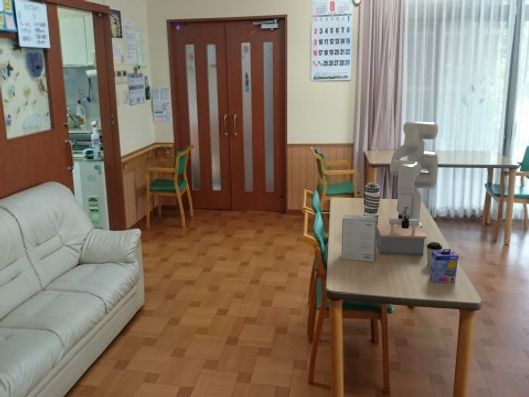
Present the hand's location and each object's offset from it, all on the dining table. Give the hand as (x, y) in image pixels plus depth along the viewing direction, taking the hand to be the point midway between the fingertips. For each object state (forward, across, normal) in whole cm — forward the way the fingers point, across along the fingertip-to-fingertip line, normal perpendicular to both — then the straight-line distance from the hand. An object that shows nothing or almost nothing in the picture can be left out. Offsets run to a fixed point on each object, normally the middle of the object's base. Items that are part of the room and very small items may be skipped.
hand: (403, 225), depth 242 cm
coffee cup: (+15, +13, +12) cm, 23 cm away
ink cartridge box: (+15, +30, +12) cm, 35 cm away
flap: (+5, -5, 0) cm, 7 cm away
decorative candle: (+15, -41, -10) cm, 45 cm away
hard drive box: (+15, +7, -21) cm, 27 cm away
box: (+14, -6, 0) cm, 15 cm away
